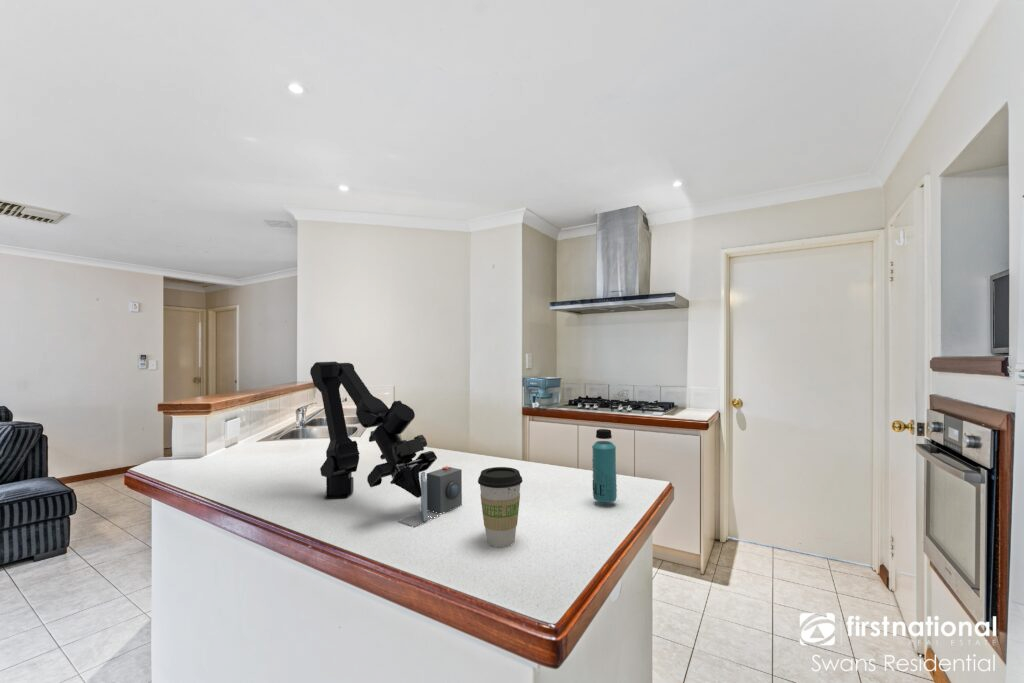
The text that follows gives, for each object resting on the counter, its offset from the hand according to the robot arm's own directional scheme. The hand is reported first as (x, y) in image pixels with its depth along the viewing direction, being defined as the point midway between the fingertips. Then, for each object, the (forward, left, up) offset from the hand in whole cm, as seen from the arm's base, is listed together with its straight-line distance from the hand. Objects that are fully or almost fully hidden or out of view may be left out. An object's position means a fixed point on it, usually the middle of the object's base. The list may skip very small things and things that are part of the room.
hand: (419, 496), depth 110 cm
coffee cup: (+19, -13, -6) cm, 24 cm away
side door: (+1, +2, -5) cm, 6 cm away
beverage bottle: (+48, +7, -6) cm, 49 cm away
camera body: (+3, +4, -6) cm, 8 cm away
